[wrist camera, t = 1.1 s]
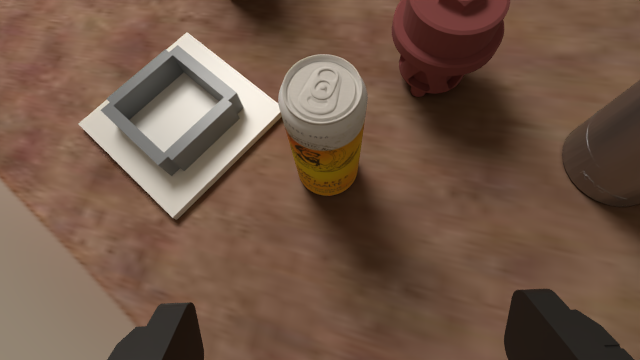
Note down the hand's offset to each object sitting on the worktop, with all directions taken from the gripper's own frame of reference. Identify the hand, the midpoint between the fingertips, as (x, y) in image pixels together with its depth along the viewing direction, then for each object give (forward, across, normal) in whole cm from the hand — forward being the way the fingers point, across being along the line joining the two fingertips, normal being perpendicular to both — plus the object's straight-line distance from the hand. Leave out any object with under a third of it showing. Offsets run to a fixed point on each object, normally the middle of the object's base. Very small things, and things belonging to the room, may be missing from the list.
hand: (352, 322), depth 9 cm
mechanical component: (+36, -12, -2) cm, 38 cm away
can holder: (+33, +16, +2) cm, 37 cm away
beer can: (+28, 0, +7) cm, 29 cm away
